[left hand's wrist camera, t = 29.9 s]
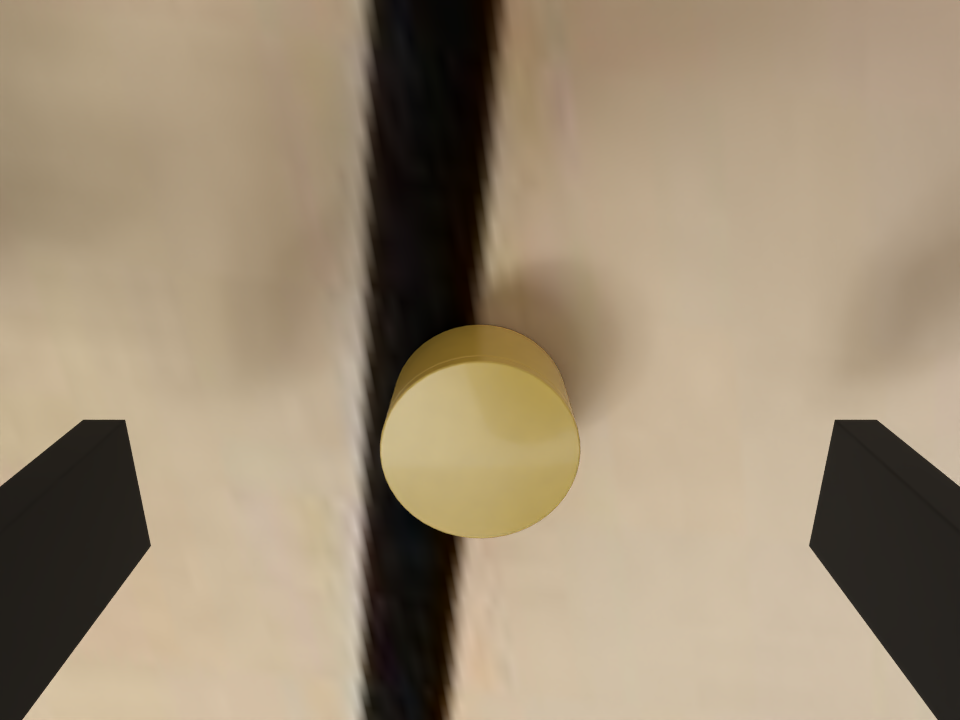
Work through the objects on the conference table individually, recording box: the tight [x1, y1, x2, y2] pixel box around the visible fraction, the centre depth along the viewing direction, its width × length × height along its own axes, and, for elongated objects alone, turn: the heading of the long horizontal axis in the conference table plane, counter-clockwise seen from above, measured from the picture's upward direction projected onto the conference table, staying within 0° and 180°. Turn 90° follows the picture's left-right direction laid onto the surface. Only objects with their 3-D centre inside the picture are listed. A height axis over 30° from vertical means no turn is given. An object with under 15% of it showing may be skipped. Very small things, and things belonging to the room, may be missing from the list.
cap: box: [380, 325, 580, 538], centre depth 15 cm, size 4×4×2 cm
